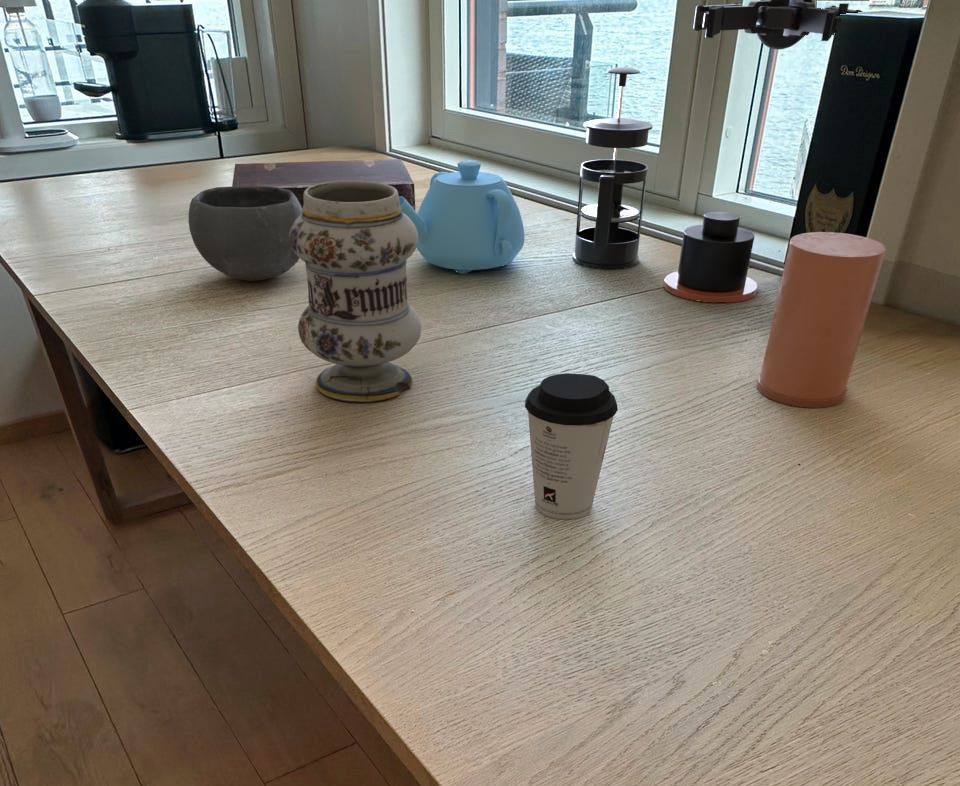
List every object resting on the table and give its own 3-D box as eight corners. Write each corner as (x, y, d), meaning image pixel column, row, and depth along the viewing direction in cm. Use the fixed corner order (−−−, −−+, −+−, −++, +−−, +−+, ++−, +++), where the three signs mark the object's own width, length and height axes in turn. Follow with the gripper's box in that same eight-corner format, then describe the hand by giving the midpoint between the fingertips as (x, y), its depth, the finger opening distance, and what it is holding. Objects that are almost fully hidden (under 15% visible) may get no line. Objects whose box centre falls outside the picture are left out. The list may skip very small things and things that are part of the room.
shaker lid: (749, 276, 114) (762, 211, 109) (740, 296, 108) (753, 227, 103) (683, 269, 117) (693, 204, 112) (670, 287, 110) (680, 220, 105)
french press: (580, 247, 128) (594, 61, 113) (643, 252, 126) (665, 64, 111) (564, 269, 119) (577, 72, 104) (631, 275, 117) (654, 75, 102)
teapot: (555, 270, 118) (561, 168, 110) (432, 296, 110) (428, 187, 102) (475, 238, 131) (475, 144, 123) (359, 259, 122) (351, 159, 114)
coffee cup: (544, 535, 66) (552, 412, 59) (506, 493, 71) (509, 375, 64) (622, 516, 68) (638, 396, 62) (580, 477, 73) (590, 362, 66)
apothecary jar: (393, 416, 82) (381, 210, 71) (283, 397, 85) (254, 197, 74) (441, 370, 91) (437, 181, 79) (339, 354, 94) (321, 171, 82)
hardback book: (236, 222, 138) (231, 187, 134) (240, 195, 152) (235, 163, 149) (415, 215, 142) (414, 181, 139) (402, 190, 156) (401, 159, 153)
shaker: (847, 380, 89) (888, 237, 80) (843, 413, 83) (887, 261, 74) (761, 368, 92) (792, 227, 83) (751, 400, 85) (784, 251, 77)
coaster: (761, 280, 116) (762, 274, 115) (750, 308, 107) (751, 301, 106) (673, 270, 119) (674, 264, 118) (655, 296, 110) (656, 290, 110)
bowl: (302, 256, 123) (292, 178, 117) (320, 287, 112) (311, 203, 106) (195, 265, 119) (180, 185, 113) (203, 298, 108) (187, 212, 102)
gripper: (699, -23, 118) (668, -18, 103) (891, -19, 111) (889, -13, 96) (690, 43, 123) (659, 57, 108) (874, 51, 116) (869, 67, 101)
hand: (767, 24), depth 102 cm, fingers open, 13 cm apart
